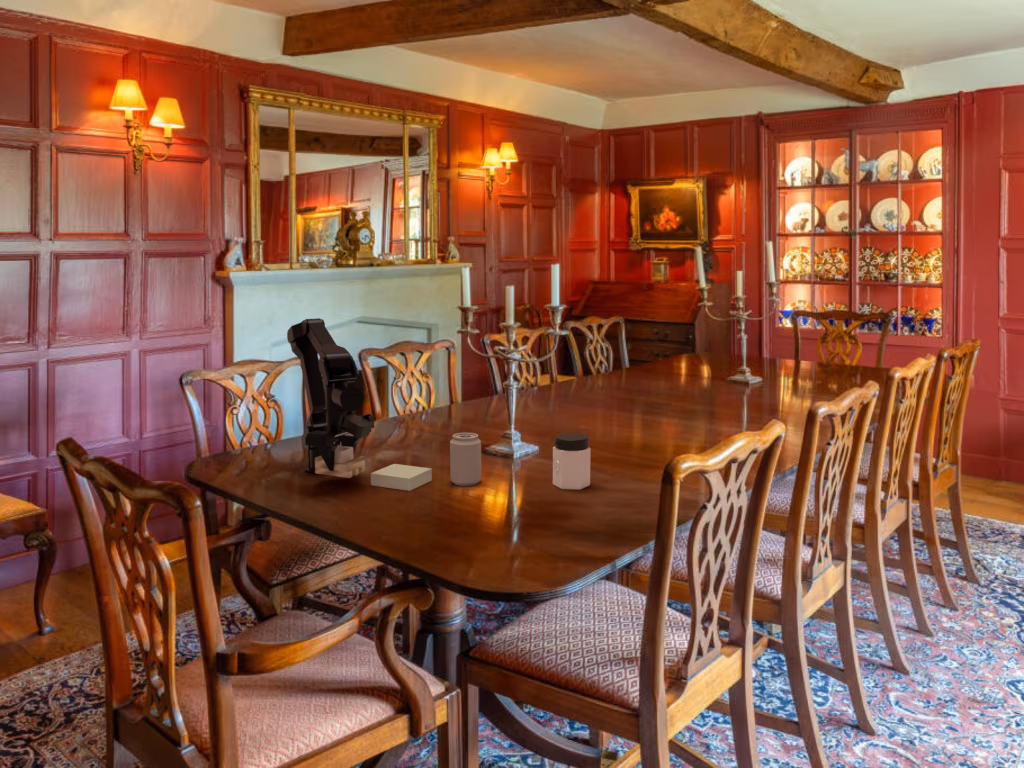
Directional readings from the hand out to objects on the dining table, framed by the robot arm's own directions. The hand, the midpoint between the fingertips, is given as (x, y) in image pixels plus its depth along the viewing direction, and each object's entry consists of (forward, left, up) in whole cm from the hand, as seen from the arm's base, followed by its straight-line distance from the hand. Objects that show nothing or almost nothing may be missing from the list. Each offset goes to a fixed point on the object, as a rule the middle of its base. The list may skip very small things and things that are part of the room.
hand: (340, 467), depth 206 cm
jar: (+51, +23, -4) cm, 56 cm away
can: (+27, +14, -4) cm, 31 cm away
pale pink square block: (0, 0, +2) cm, 2 cm away
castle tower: (0, 0, -1) cm, 1 cm away
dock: (+13, +7, -4) cm, 15 cm away
